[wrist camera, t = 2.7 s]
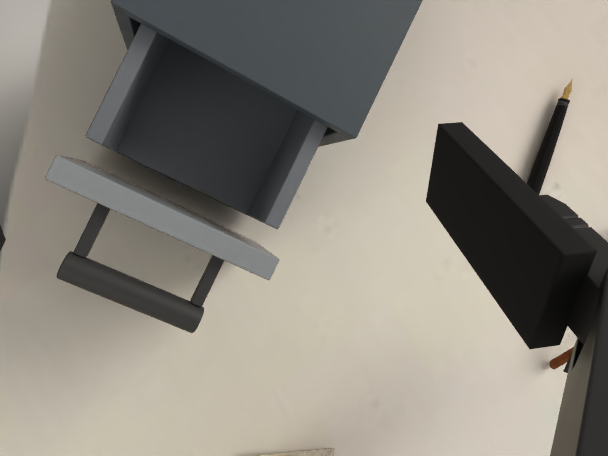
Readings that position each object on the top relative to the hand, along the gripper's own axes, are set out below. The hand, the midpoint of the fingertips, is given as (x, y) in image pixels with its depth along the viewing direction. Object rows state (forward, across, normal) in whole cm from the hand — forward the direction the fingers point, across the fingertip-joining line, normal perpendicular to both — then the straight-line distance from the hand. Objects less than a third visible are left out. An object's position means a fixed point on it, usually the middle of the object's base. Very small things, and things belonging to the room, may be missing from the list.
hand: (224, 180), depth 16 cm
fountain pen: (+18, +23, -11) cm, 31 cm away
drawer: (+17, -1, -7) cm, 18 cm away
